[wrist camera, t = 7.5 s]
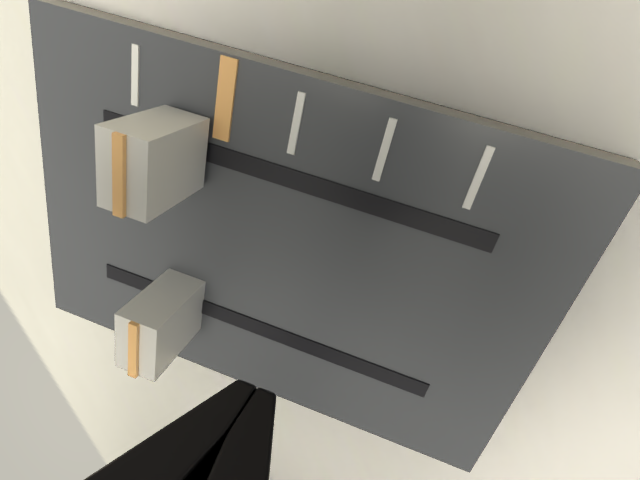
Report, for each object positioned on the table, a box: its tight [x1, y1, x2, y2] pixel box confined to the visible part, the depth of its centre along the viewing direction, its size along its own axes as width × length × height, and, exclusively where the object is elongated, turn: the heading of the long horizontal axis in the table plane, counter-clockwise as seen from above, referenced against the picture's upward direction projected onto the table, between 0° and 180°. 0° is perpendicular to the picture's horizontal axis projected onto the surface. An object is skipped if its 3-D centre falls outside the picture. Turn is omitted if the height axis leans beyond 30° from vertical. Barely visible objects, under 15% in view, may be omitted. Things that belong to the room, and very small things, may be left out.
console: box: [28, 0, 640, 472], centre depth 19 cm, size 16×24×6 cm, turn 77°
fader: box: [94, 105, 210, 223], centre depth 17 cm, size 3×2×4 cm, turn 167°
